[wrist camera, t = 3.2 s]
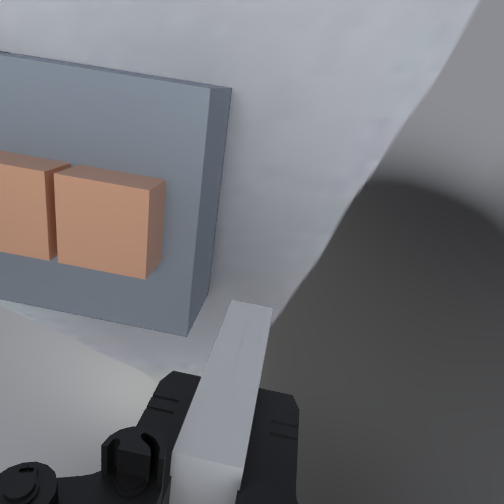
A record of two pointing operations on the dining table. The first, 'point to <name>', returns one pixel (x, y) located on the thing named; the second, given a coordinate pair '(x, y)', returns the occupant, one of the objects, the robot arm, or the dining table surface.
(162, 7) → the dining table surface
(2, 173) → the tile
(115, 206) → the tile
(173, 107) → the blue-grey square block
